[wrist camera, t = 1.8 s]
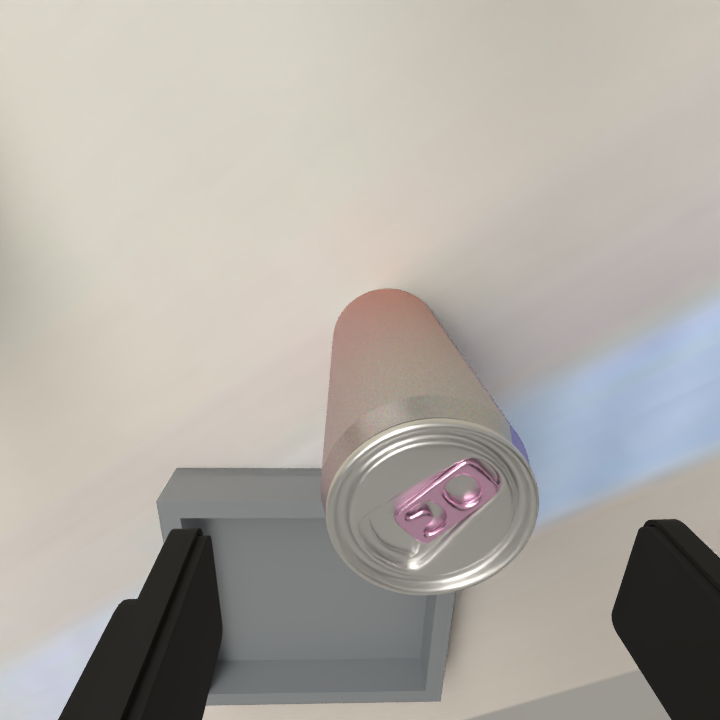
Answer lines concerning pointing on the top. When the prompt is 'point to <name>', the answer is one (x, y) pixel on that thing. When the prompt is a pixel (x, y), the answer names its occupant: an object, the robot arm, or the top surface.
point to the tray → (301, 598)
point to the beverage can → (418, 455)
